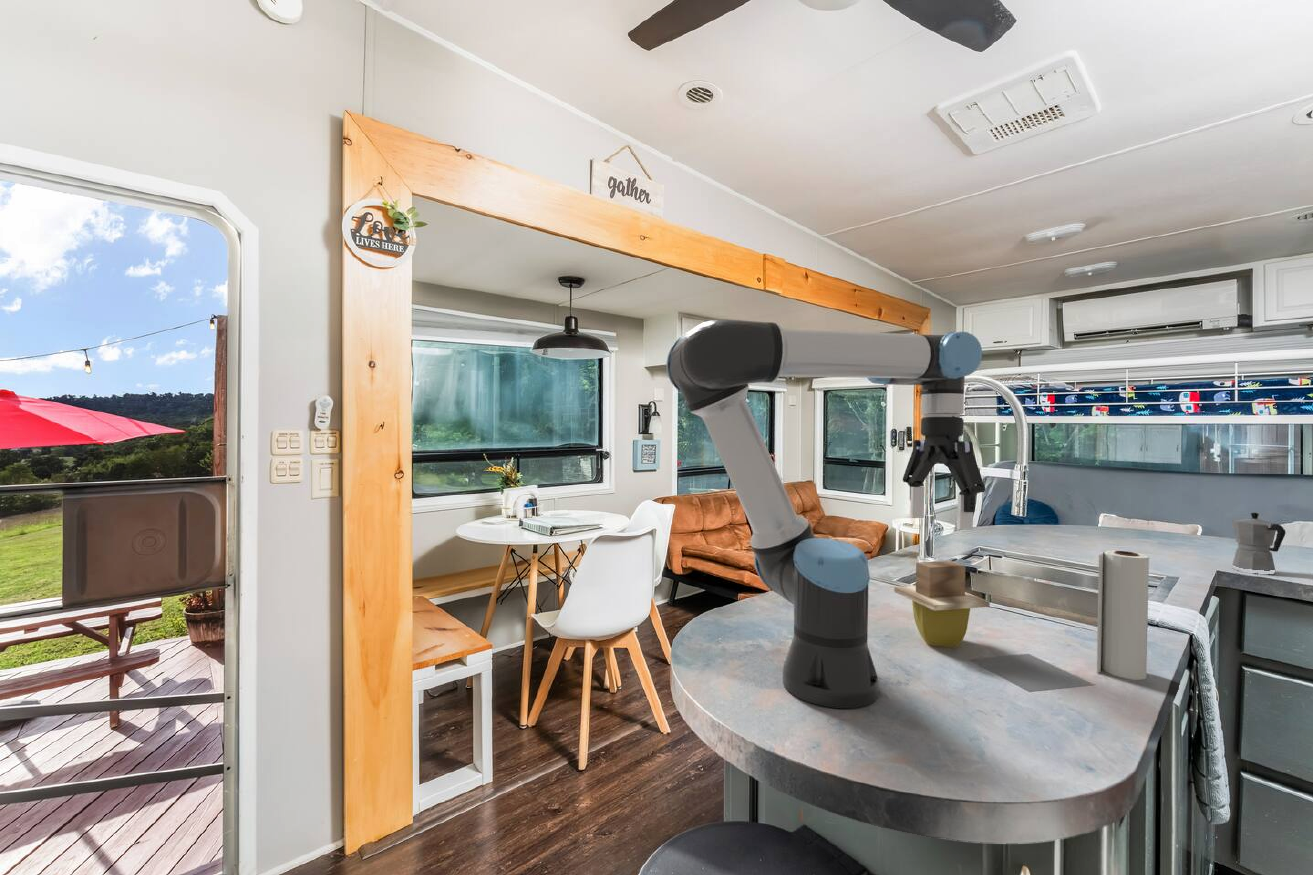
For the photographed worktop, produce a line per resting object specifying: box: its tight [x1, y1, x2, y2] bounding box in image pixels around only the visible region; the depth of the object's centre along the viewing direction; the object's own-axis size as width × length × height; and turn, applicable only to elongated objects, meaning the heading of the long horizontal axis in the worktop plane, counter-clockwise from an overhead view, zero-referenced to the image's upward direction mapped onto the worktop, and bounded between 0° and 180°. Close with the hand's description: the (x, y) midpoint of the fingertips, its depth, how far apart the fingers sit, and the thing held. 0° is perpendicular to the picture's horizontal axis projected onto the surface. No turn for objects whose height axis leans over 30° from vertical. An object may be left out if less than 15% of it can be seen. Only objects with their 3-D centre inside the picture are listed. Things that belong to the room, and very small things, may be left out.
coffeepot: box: [1231, 512, 1286, 571], centre depth 170 cm, size 15×9×18 cm, turn 175°
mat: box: [968, 653, 1096, 693], centre depth 98 cm, size 13×13×1 cm
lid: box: [894, 560, 991, 611], centre depth 111 cm, size 12×12×7 cm
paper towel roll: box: [1096, 550, 1150, 681], centre depth 98 cm, size 7×6×21 cm
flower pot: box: [911, 600, 971, 649], centre depth 111 cm, size 9×9×9 cm
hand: (939, 523), depth 111 cm, fingers open, 13 cm apart
